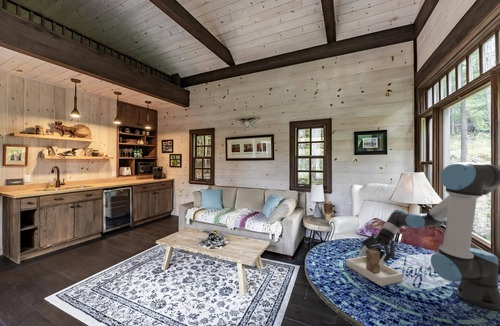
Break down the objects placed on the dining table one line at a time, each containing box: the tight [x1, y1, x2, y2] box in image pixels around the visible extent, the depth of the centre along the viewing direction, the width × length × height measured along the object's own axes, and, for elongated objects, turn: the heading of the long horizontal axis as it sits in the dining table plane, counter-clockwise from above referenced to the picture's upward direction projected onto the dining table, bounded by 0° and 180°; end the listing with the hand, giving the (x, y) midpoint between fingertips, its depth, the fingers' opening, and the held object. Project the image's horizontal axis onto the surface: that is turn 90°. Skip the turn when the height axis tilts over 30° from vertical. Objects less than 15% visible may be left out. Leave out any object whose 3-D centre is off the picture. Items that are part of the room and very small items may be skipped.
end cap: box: [367, 244, 386, 259], centre depth 148 cm, size 10×7×7 cm
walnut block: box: [365, 249, 381, 274], centre depth 124 cm, size 5×5×12 cm
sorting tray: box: [345, 255, 404, 287], centre depth 124 cm, size 24×16×4 cm, turn 19°
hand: (369, 260), depth 124 cm, fingers open, 13 cm apart
